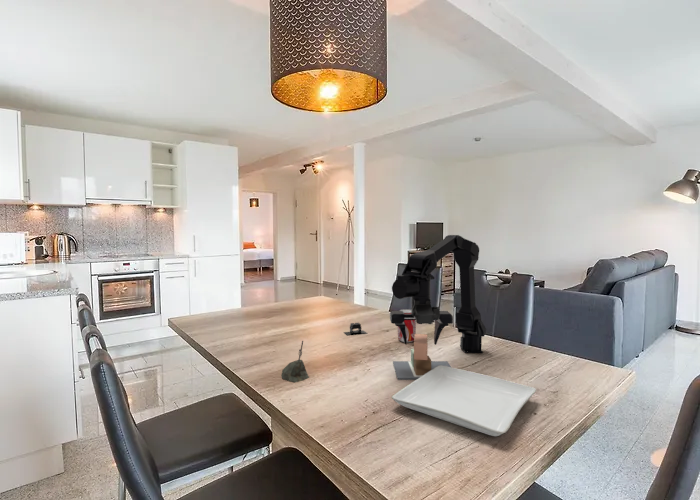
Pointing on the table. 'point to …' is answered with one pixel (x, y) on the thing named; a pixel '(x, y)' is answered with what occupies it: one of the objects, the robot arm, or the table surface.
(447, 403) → the square plate
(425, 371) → the walnut cube
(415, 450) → the table surface
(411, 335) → the soda can
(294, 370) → the sword in stone
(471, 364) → the table surface
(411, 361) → the green cube
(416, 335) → the cap block
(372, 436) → the table surface
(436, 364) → the mat
